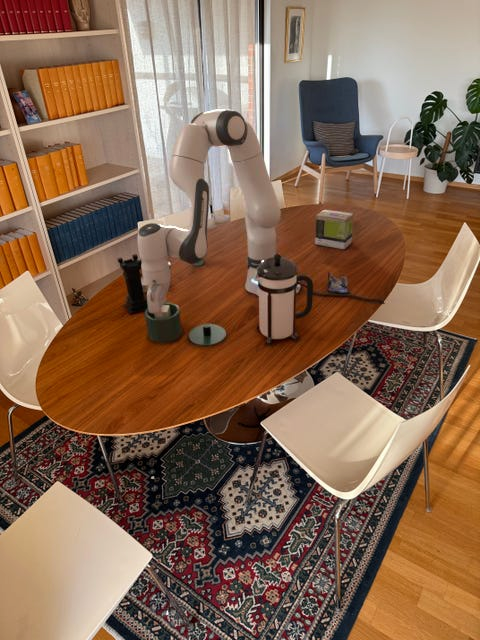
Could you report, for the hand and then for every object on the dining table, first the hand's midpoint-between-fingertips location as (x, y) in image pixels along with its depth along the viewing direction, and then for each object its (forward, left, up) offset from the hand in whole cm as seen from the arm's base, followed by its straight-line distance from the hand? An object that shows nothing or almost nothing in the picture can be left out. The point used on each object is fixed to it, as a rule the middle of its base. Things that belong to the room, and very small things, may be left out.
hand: (162, 310), depth 158 cm
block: (0, 0, -4) cm, 4 cm away
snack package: (-64, -31, -10) cm, 72 cm away
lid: (-15, +2, -9) cm, 18 cm away
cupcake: (-5, -57, -10) cm, 58 cm away
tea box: (-68, -76, -10) cm, 102 cm away
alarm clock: (+11, -34, -10) cm, 37 cm away
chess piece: (+14, -19, -10) cm, 26 cm away
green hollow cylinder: (0, 0, -10) cm, 10 cm away
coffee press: (-40, 0, -10) cm, 41 cm away
